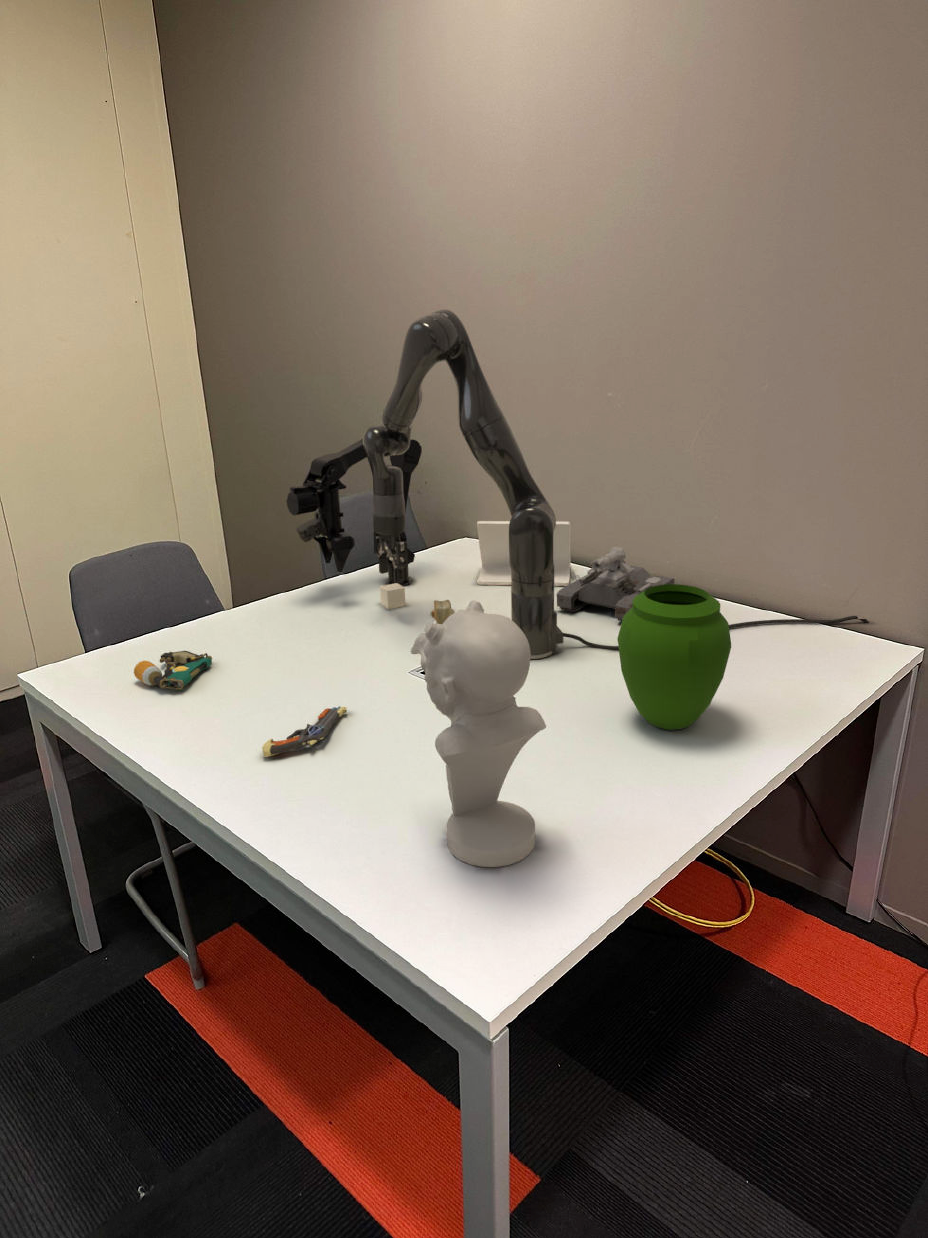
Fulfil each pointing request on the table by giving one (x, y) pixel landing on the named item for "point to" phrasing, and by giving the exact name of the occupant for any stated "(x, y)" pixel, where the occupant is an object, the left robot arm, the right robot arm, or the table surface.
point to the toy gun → (305, 733)
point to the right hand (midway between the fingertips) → (391, 577)
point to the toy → (609, 585)
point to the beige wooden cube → (392, 596)
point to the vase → (673, 653)
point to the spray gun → (172, 669)
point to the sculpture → (441, 611)
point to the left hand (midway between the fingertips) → (333, 567)
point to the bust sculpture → (481, 729)
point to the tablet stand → (497, 553)
